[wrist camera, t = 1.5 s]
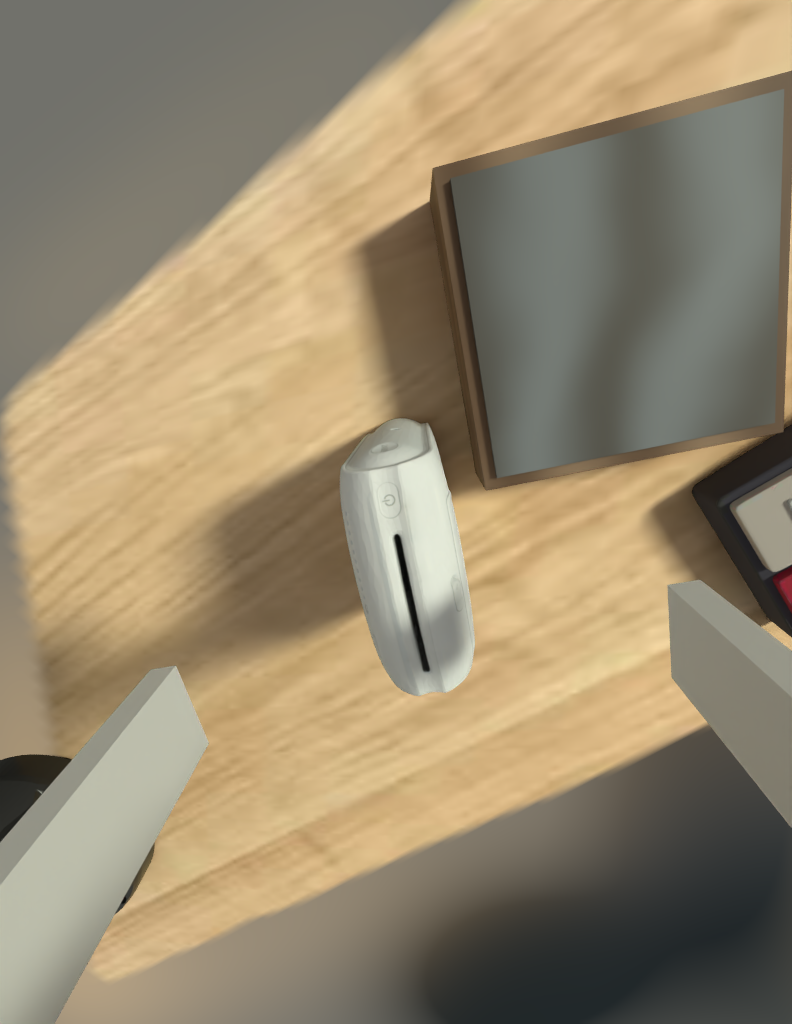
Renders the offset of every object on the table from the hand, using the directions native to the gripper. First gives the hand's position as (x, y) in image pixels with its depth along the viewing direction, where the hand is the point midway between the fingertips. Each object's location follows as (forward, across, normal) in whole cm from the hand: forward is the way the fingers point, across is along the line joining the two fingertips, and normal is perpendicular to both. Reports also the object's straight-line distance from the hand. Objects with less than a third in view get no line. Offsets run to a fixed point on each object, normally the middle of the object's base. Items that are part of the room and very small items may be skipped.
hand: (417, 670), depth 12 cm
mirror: (+16, +11, +8) cm, 21 cm away
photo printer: (+16, 0, 0) cm, 16 cm away
